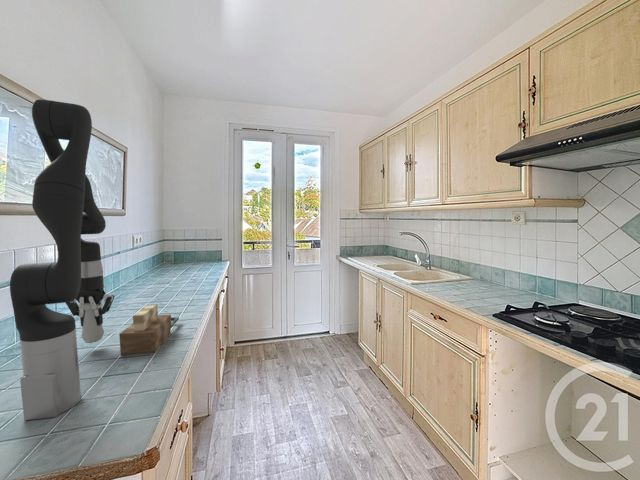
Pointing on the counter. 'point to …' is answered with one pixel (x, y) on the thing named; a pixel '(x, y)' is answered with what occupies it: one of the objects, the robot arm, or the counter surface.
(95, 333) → the salt shaker
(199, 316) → the counter surface
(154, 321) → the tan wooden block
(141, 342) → the toolbox
